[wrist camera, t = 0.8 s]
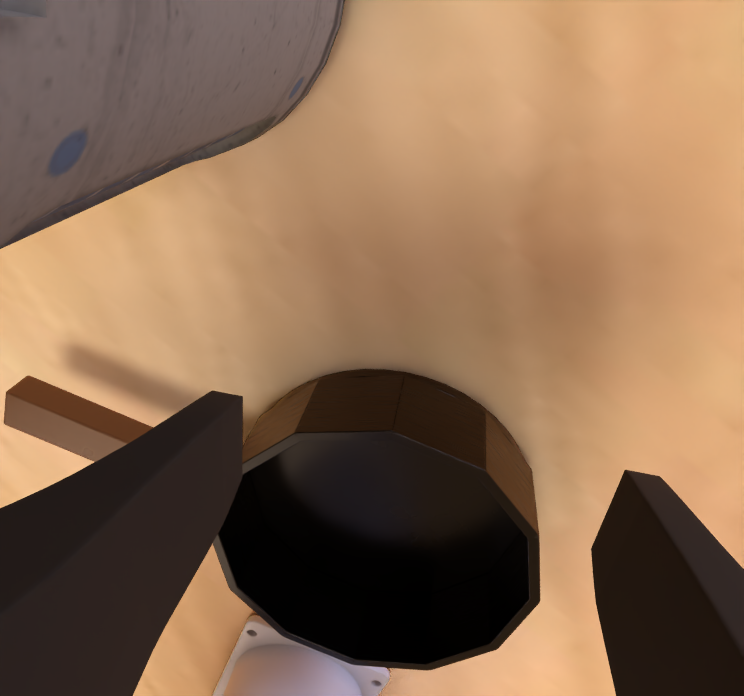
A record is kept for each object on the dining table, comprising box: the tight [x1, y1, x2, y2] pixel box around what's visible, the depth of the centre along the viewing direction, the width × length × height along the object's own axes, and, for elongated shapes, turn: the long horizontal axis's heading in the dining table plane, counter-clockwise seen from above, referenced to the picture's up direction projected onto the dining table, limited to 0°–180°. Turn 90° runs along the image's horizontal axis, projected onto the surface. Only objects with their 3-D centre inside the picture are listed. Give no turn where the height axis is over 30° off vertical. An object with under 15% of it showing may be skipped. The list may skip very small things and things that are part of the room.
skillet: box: [4, 369, 540, 670], centre depth 23 cm, size 20×12×4 cm, turn 68°
